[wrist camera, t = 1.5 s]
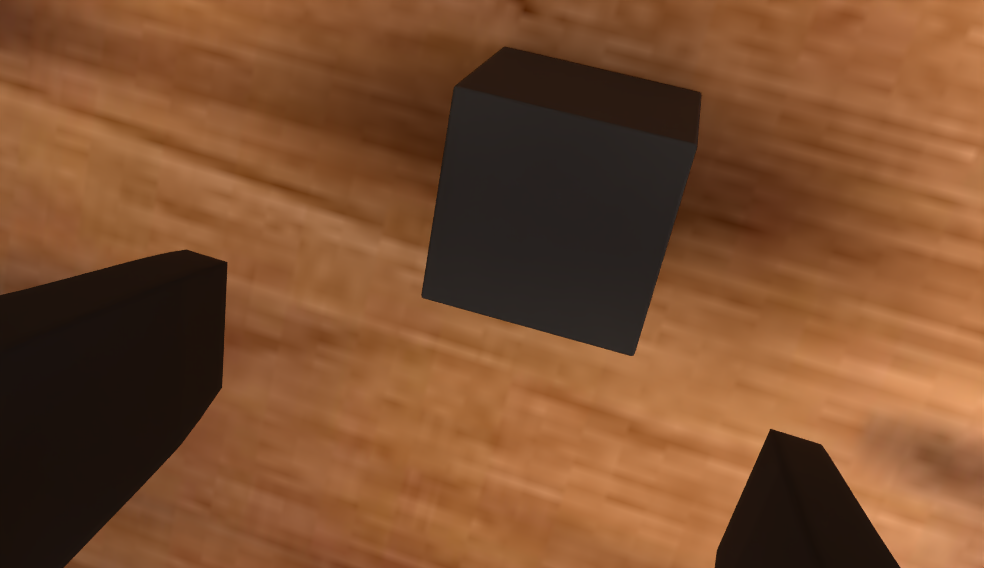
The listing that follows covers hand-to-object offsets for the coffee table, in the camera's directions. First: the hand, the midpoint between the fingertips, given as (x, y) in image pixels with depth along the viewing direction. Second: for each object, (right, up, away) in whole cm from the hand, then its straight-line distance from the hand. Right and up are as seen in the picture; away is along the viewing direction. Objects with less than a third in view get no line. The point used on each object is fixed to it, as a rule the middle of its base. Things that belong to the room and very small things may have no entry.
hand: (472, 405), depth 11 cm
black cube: (+2, +4, +8) cm, 10 cm away
